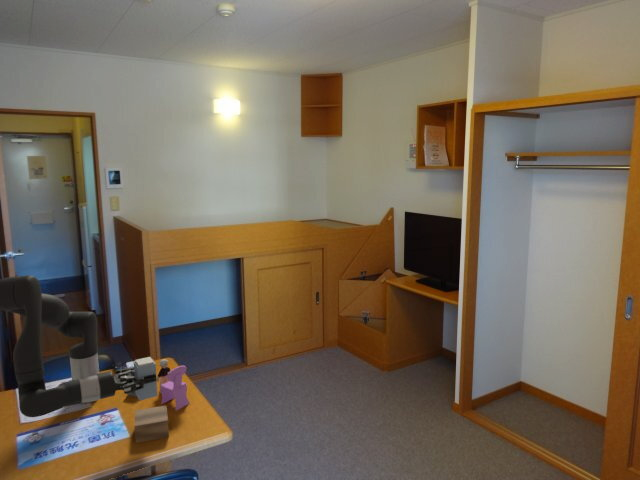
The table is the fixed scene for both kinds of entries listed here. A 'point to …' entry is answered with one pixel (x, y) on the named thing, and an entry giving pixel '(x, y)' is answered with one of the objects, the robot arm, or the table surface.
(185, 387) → the toy chair
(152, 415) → the walnut block
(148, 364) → the slate-blue canister
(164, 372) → the grandmother figurine
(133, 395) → the dice cube
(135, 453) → the table surface
